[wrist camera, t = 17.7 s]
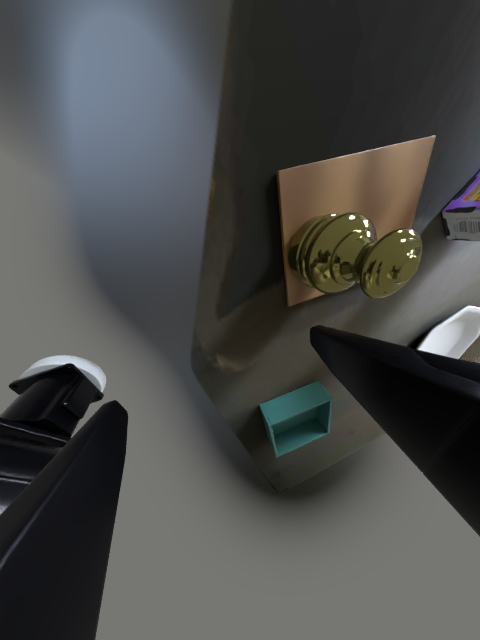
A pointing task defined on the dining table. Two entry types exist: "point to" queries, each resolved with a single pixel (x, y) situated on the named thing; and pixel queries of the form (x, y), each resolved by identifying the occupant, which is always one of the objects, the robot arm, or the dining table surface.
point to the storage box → (297, 417)
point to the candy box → (464, 213)
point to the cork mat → (352, 195)
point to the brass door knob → (353, 255)
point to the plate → (453, 333)
